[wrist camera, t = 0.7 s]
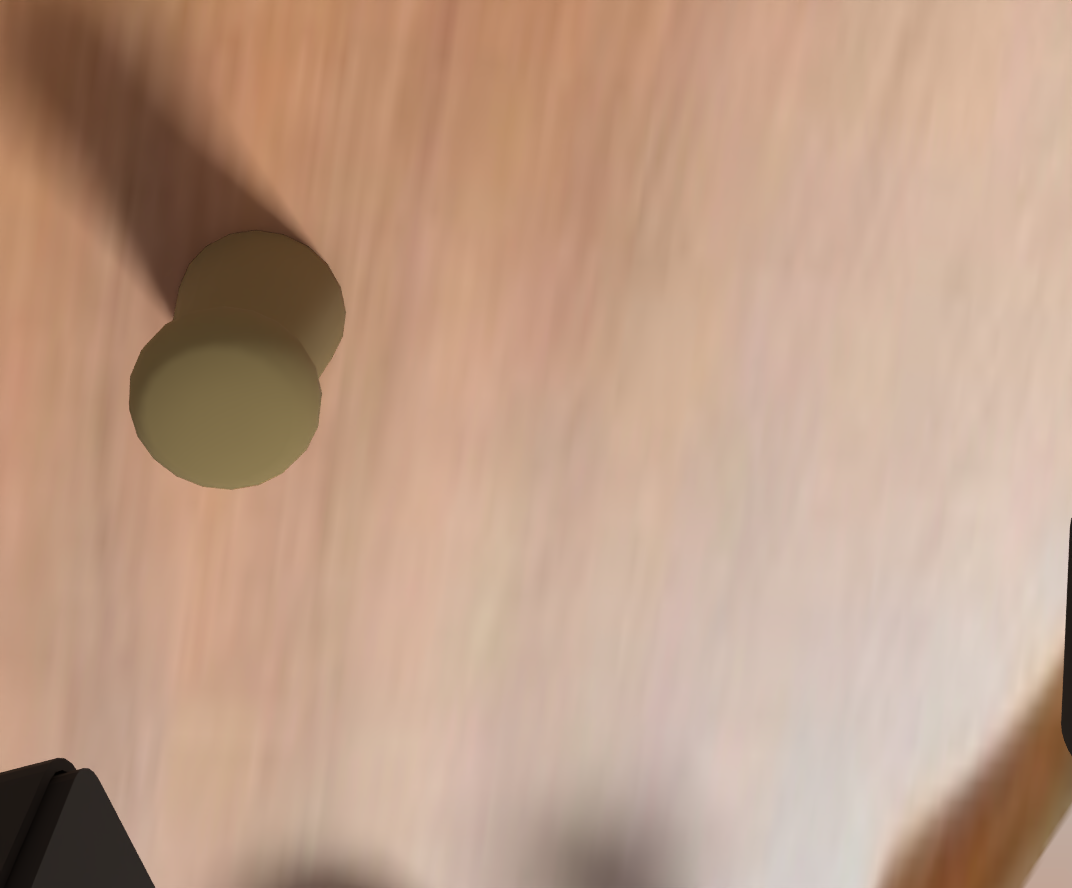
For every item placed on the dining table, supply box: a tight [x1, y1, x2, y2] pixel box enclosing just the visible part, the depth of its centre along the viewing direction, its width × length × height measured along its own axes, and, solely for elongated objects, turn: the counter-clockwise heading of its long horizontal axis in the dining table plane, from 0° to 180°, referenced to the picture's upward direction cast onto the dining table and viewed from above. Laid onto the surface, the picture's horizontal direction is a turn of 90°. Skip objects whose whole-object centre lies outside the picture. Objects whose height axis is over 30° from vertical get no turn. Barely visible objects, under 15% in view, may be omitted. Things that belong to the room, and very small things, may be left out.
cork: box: [129, 230, 346, 490], centre depth 31 cm, size 6×6×11 cm
